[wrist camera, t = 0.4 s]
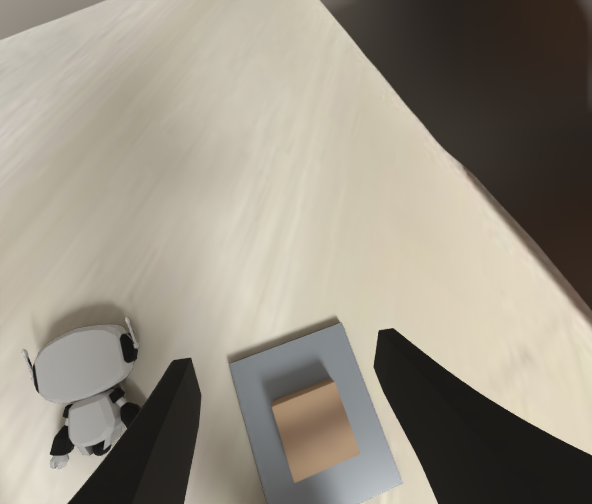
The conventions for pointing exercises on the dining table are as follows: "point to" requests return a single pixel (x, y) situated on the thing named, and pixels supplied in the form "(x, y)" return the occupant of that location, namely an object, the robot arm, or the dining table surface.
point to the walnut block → (314, 429)
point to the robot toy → (87, 386)
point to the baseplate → (357, 403)
